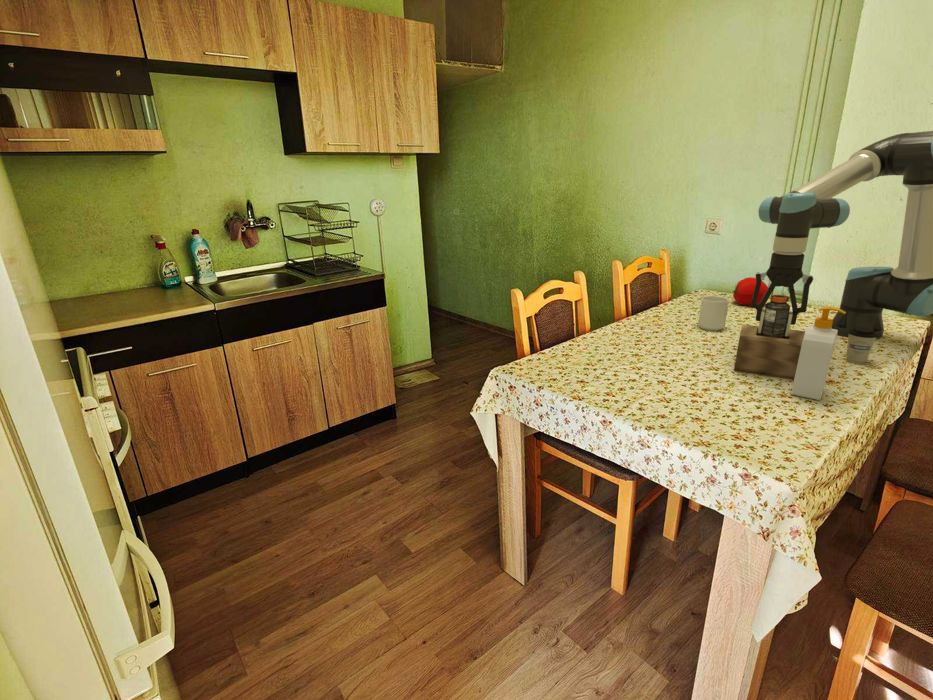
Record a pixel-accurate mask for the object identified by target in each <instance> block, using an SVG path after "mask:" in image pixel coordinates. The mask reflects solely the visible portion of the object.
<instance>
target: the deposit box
mask: <svg viewBox="0 0 933 700" xmlns="http://www.w3.org/2000/svg"><path fill="white" fill-rule="evenodd" d="M758 328H759V325H752V324H751V325H750V324H742V325H741V328H740V332H739V338H738V344H737V350H736V356H735V360H734V361H735V362H734V367H733V371H736V372H742V373H747V374H748V373H749V374H750V373H751V374H756V375H762V376H769V377H776V378H782V379H789V380H794V378H795V374H796V369H797V365H798V360H799V355H800V351H801V346H802V342H803V338H804V334H805V331H806V330H797V329H790V330H789V334H788V336H785V335H784V336H782V337H771V336H767V335H764V334H762V333H758Z"/></svg>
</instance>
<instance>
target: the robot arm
mask: <svg viewBox="0 0 933 700" xmlns="http://www.w3.org/2000/svg"><path fill="white" fill-rule="evenodd" d="M887 176H902V185H903V186H904V187H905V188H907V189H908V190H907V191H908V192H907V200H906V205H905V206H906V207H905V212H904V213H905V214H904V221H903V229H902V234H901V235H902V236H901V242H900V243H901V245H900V249H899V250H900V251H899V257H898V265H897V267H896V268H893V267H892V266H862V267H861V266H860V267H859V266H858V267H853V268H851V269H850V270H848V273H847V275H846V279H845V284H844V289H843V292H842V296H841V301H840V306H839V308H838V309H840V310H843V311H844V312H846V313H845V314H843V313H841V312H838V311H836V313H835V315H834V316H833V318H831V319H832V320H833V323H832V327H831V328H832V329H835V330H838V332H837V336H843V337H847V338H848V336H849V333H848V331H849V330H851V329H853V328H854V327H865V328H870V329H873V330H874V332H875V333H877V336H878V337H876V339H875V340H877V338H878V339H881V338H883V335H884V333H885V327H884V320H883V319H884V318H883V310H888V311H893V312H897V313H901V314H904V315H908V316H917V317H927V316H928V317H929V316H930V315H932V314H933V130H929V131H917V132H905V133H898V134H894V135H891V136H887V137H886V138H883V139H880V140H878V141H875V142H873V143H871V144H869V145H867V146H865V147H863V148H860V149H859V150H858V151H856V152H854V153H852V154H851V156H850V157H849V158H848V160H846V161H844V162H843V163H841V164H838V165H837V166H835V167H834V168H832V169H830V170H827V172H824V173H822V174H821V175H819V176H816V177H815V178H814V179H811V180H810V181H808V182H806V183H804V184H802V185H801V186H798V187H796V188H794V189H793V190H792V191H791V190H790V192H787V193H786V194H784V195H782V196H779V197H778V196H773V197H772V196H770V197H767V198H765V199H764V200H763V201H761V203H760V205H759V207H758V212H757V213H758V217H759V220H761V222H763V223H766V224H767V223H768V224H772V225H776V232H775V236H774V240H773V244H772V245H773V246H772V251H773V252H772V253H771V256H770V262H769V263H770V264H769V267H768V269H767V270H766V271H765V272H756V273H755V278H756V286H755V290H754V294H753V298H752V302H751V306H750V307H751V308H752V309H755V310H756V315H755V322H759V324H758V326H759V328H758V333H761V330H762V324H763V319H764V313H765V306H766V304H767V303H768V301H769V298H771V296H772V293H773V292H774V290H775V288H776V287H784V288H788V291H789V292H788V293H789V298H790V304H791V305H790V306H791V308H792V309H791V311H789V316H788V322H787V327H786V332H785V336H788V334H789V330H791V325H792V326H793V325H794V326H795V325H796V322H797V319H798V315H799V314H803V313H807V310H808V308H807V307H808V303H809V294H810V286H811V285H812V283H813V281H814V277H813V275H807V274H804V272H803V266H804V261H805V260H804V259H805V254H804V252H807V251H806V250H807V246H808V241H809V236H810V230H811V229H822V228H823V229H824V228H825V229H826V228H828V229H829V228H833V227H838V226H840V225H842V224H844V223H845V222H846V221H847V220H848V218H849V216H850V214H851V213H850V212H851V207H850V205H849V203H848V201H846V200H845V199H843V198H836V196H838V195H839V194H841V193H843V192H845V191H847V190H849V189H851V188H852V187H854V186H856V185H858V184H859V183H862V182H869V181H871V180H874V179H875V178H879V177H887ZM766 277H767V278H768V279H769V281H770V284H769V286H768V289H767V291H766V293H765V295H764V296H763V298H762V300H761V302H760V303H759V304H757V303H756V302H757V298H758V294H759V290H760V286H761V281H764V280H765V278H766ZM800 279H802V284H803V289H802V295H801V296H802V297H801V304H800V307H798V303H797V297H796V292H795V291H796V290H795V286H794V285H795V284H796V283H797V282H798V281H799V280H800Z"/></svg>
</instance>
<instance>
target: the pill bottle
mask: <svg viewBox="0 0 933 700" xmlns="http://www.w3.org/2000/svg"><path fill="white" fill-rule="evenodd" d="M788 300H789V297H788V296H787V295H783V294H771V295H770V301H769V302H768V301H767V302H766V304H765V306H764V309H765V313H764V319H763V324H762V330H761V333H762V334H764V335H767V336H771V337H782V336H784V335H785V332H786V327H787V322H788V316H789V312H791V311H790V310H791V305H790V304H789V303H788Z"/></svg>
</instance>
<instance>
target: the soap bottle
mask: <svg viewBox="0 0 933 700" xmlns="http://www.w3.org/2000/svg"><path fill="white" fill-rule="evenodd" d="M830 311H833V312H841V313H843V314H845V313H846V312H844V311H843V310H840V309H839V308H838V307H837V308H836V307H831V306H823V307H819V309H818V312H822V314H821V317H815V319H814V323H813V325H808V326H807V327H806V329H805V330H804V331H805V334H804V338H803V342H802V346H801V351H800V355H799V360H798V365H797V369H796V374H795V378H794V379H793V383H792V388H791V395H792V396H793V395H794V396H797V397H803V398H805V399H812V400H815V401H816V400H817V401H821V398H822V396H823V392H824V390H825V386H826V383H827V377H828V373H829V370H830V365H831V361H832V357H833V352H834V349H835V344H836V340H837V336H838V334H837V332H838V330H835V329H832V328H831V327H832V323H833V320H832V319H833V318H829V316H830V315H829V314H830Z"/></svg>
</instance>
